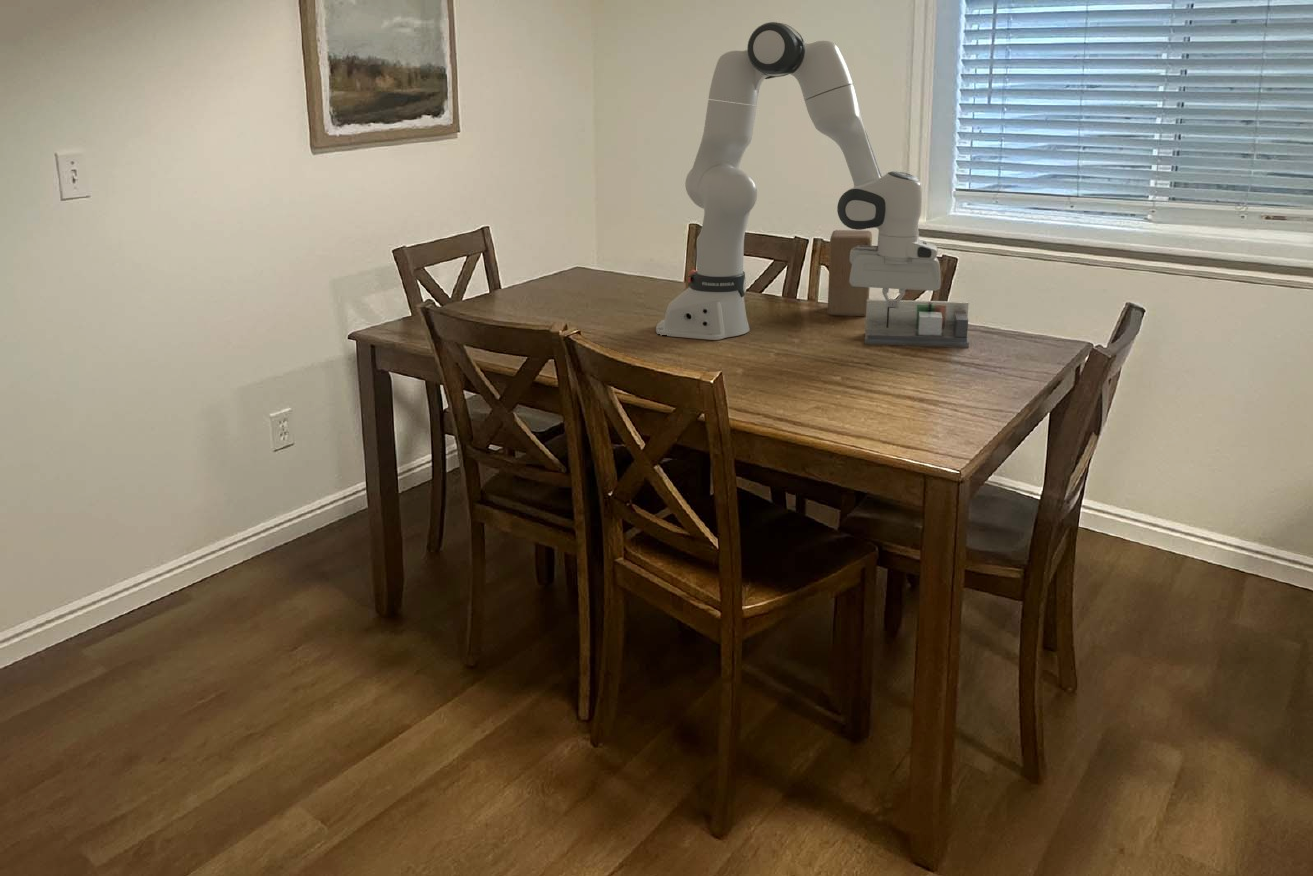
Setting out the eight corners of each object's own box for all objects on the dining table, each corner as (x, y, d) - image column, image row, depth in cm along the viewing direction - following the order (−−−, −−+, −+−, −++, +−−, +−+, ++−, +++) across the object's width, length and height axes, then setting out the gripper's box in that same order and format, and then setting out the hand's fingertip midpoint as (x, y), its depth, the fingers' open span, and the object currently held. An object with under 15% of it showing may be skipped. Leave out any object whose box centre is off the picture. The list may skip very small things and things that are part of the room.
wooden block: (867, 317, 280) (871, 237, 273) (827, 316, 282) (830, 236, 275) (868, 307, 290) (872, 229, 283) (829, 306, 291) (832, 229, 284)
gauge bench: (864, 344, 257) (866, 309, 254) (865, 333, 266) (866, 299, 263) (968, 347, 253) (971, 311, 250) (965, 335, 262) (968, 301, 259)
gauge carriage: (918, 338, 255) (920, 310, 253) (917, 330, 261) (919, 303, 259) (940, 339, 254) (942, 311, 252) (939, 331, 260) (941, 304, 258)
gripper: (849, 247, 250) (845, 307, 255) (944, 251, 246) (938, 313, 251) (851, 242, 256) (846, 301, 260) (943, 246, 252) (937, 307, 257)
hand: (892, 307), depth 256 cm, fingers closed
